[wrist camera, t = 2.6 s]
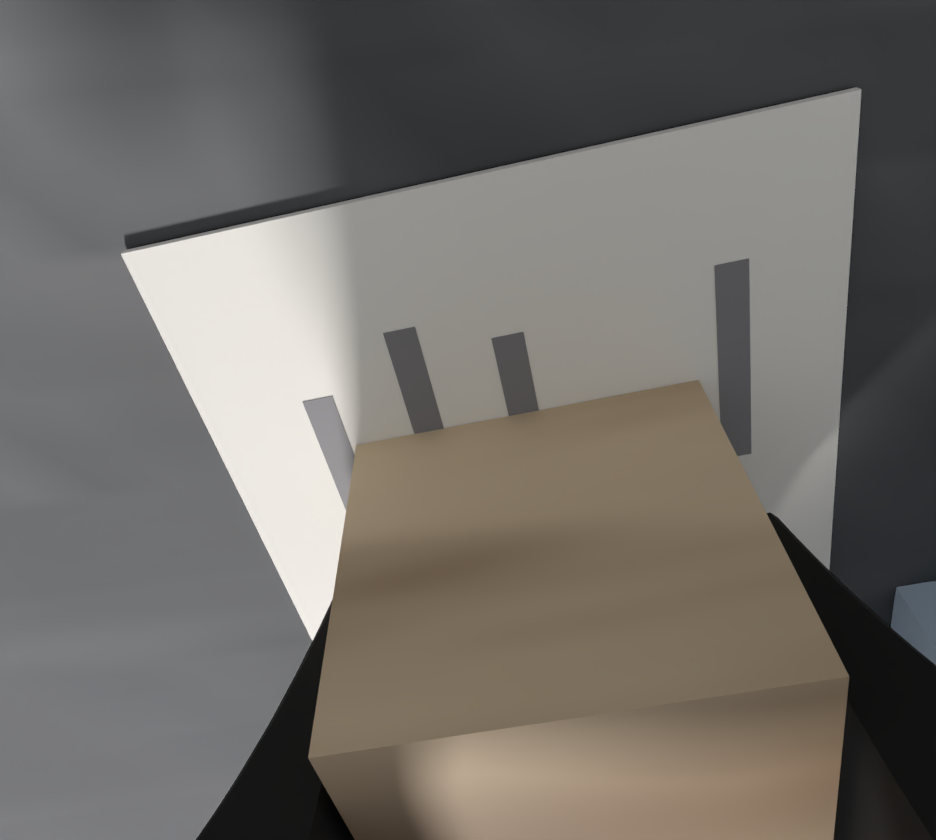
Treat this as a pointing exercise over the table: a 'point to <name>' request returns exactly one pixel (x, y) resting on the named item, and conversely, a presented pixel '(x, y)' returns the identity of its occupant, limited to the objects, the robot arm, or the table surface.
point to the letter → (527, 314)
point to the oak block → (574, 638)
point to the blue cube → (917, 616)
